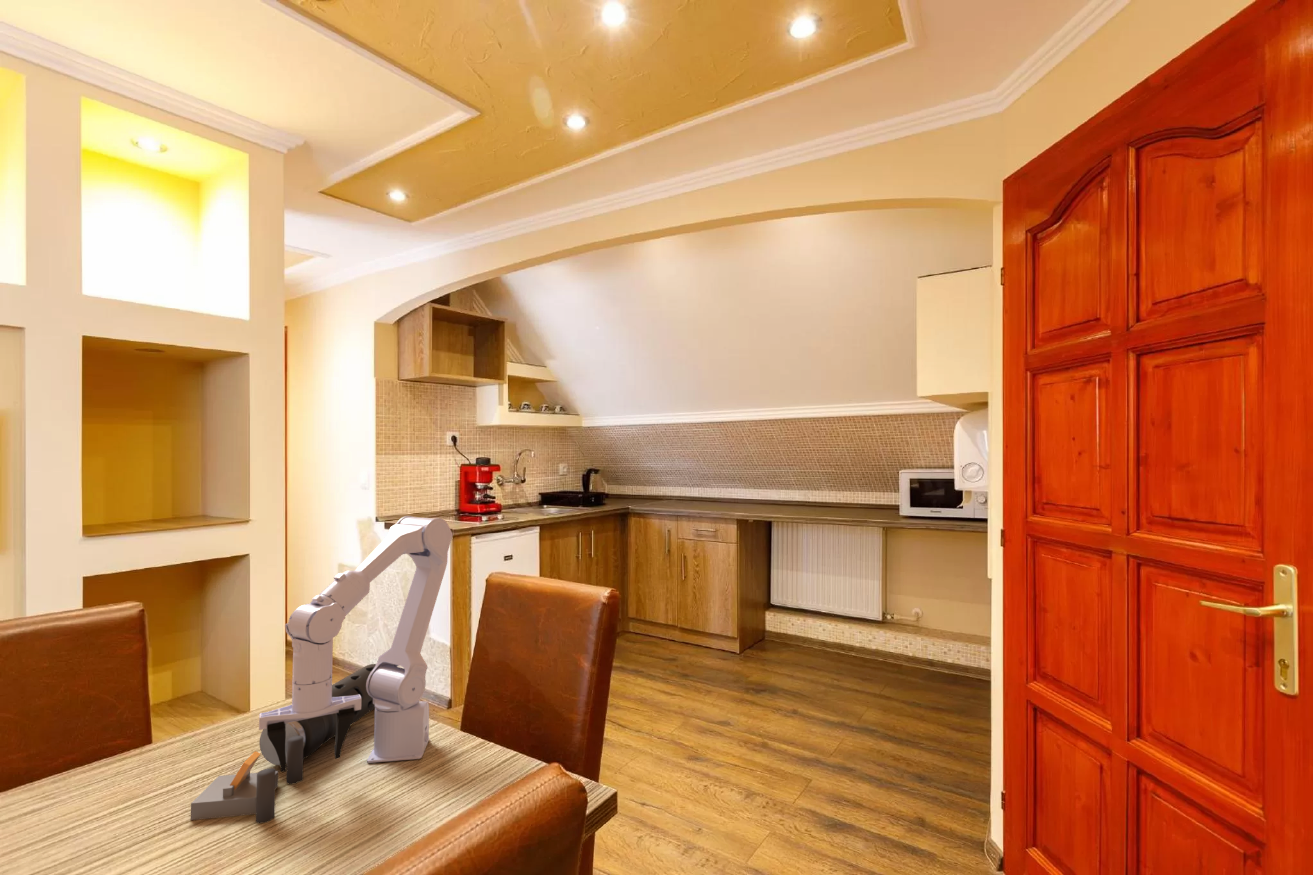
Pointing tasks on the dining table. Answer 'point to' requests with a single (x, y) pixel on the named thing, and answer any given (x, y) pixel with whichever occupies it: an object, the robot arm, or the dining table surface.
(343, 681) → the muzzle brake
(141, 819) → the dining table surface
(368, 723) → the dining table surface
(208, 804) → the switch box
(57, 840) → the dining table surface
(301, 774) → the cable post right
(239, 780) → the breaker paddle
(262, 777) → the cylinder
